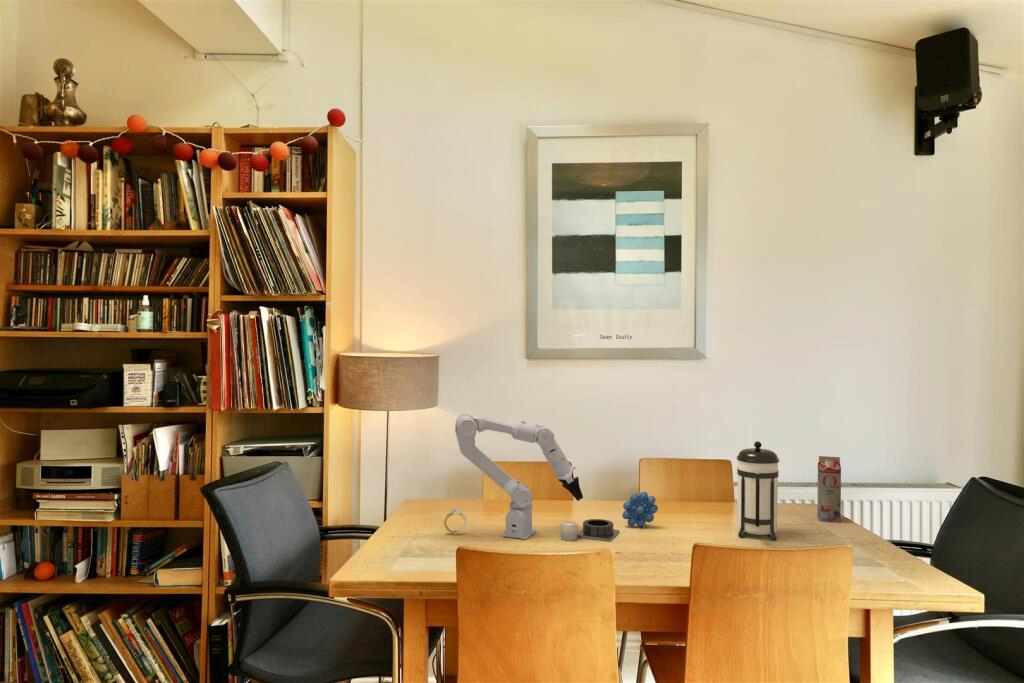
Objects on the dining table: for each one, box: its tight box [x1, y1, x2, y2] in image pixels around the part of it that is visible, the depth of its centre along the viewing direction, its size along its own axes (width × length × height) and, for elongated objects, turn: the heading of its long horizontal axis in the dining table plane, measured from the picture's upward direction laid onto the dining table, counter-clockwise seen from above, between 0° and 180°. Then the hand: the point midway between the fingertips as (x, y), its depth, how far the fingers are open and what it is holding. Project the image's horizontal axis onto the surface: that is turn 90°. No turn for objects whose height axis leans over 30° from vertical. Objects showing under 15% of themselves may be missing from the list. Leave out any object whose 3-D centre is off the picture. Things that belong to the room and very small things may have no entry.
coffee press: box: [736, 440, 780, 542], centre depth 216 cm, size 17×16×30 cm
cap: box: [560, 520, 578, 542], centre depth 212 cm, size 5×5×5 cm
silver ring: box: [443, 508, 467, 535], centre depth 217 cm, size 7×3×8 cm, turn 84°
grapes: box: [621, 491, 659, 528], centre depth 227 cm, size 12×7×12 cm, turn 81°
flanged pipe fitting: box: [577, 518, 620, 543], centre depth 217 cm, size 11×11×4 cm
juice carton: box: [816, 455, 842, 524], centre depth 236 cm, size 7×7×22 cm
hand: (577, 496), depth 221 cm, fingers open, 7 cm apart
